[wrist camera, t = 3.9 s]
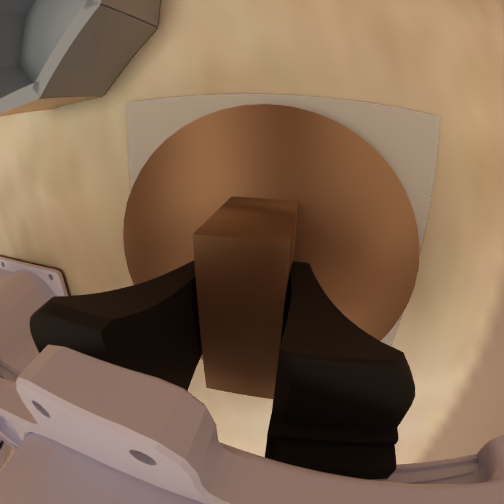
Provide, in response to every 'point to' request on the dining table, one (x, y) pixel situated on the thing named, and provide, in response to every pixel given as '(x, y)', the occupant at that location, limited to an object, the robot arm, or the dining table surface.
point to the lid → (271, 230)
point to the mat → (340, 110)
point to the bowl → (67, 49)
